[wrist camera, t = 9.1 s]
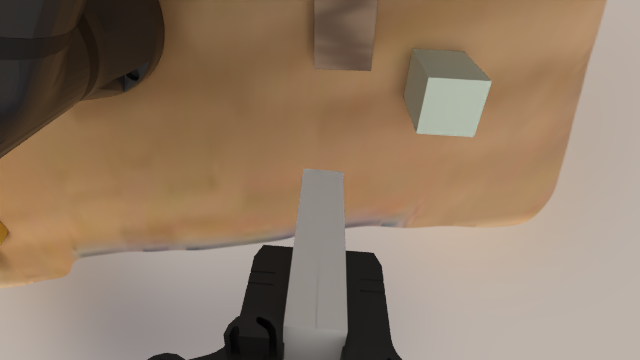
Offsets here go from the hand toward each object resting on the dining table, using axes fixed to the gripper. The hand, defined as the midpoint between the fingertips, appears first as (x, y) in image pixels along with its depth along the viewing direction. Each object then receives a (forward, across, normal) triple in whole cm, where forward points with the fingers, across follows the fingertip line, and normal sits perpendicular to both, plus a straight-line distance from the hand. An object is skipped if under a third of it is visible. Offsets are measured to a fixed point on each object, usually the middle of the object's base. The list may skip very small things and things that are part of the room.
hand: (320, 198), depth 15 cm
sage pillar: (+26, +11, -3) cm, 28 cm away
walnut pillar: (+23, +1, -2) cm, 23 cm away
